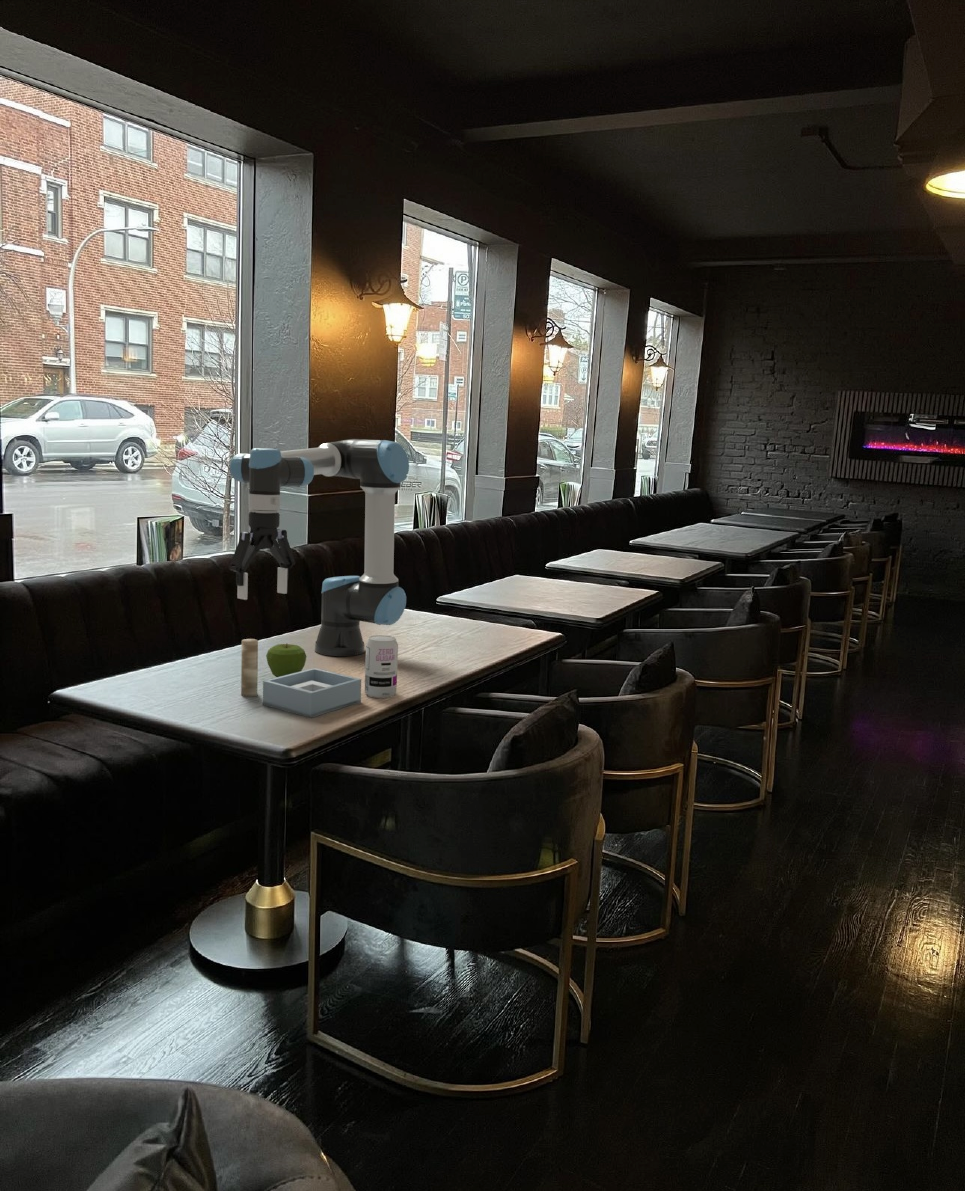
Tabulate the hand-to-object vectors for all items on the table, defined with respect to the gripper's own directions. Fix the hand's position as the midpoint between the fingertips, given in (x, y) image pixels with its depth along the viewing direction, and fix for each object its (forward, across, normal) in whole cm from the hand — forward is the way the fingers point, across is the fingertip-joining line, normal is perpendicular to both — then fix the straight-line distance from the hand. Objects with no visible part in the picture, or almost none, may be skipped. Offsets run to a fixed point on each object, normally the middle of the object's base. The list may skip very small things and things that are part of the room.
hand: (262, 596), depth 242 cm
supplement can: (+25, +20, -23) cm, 40 cm away
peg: (+25, -2, +2) cm, 25 cm away
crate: (+25, +2, -15) cm, 30 cm away
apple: (+25, +15, +5) cm, 30 cm away
